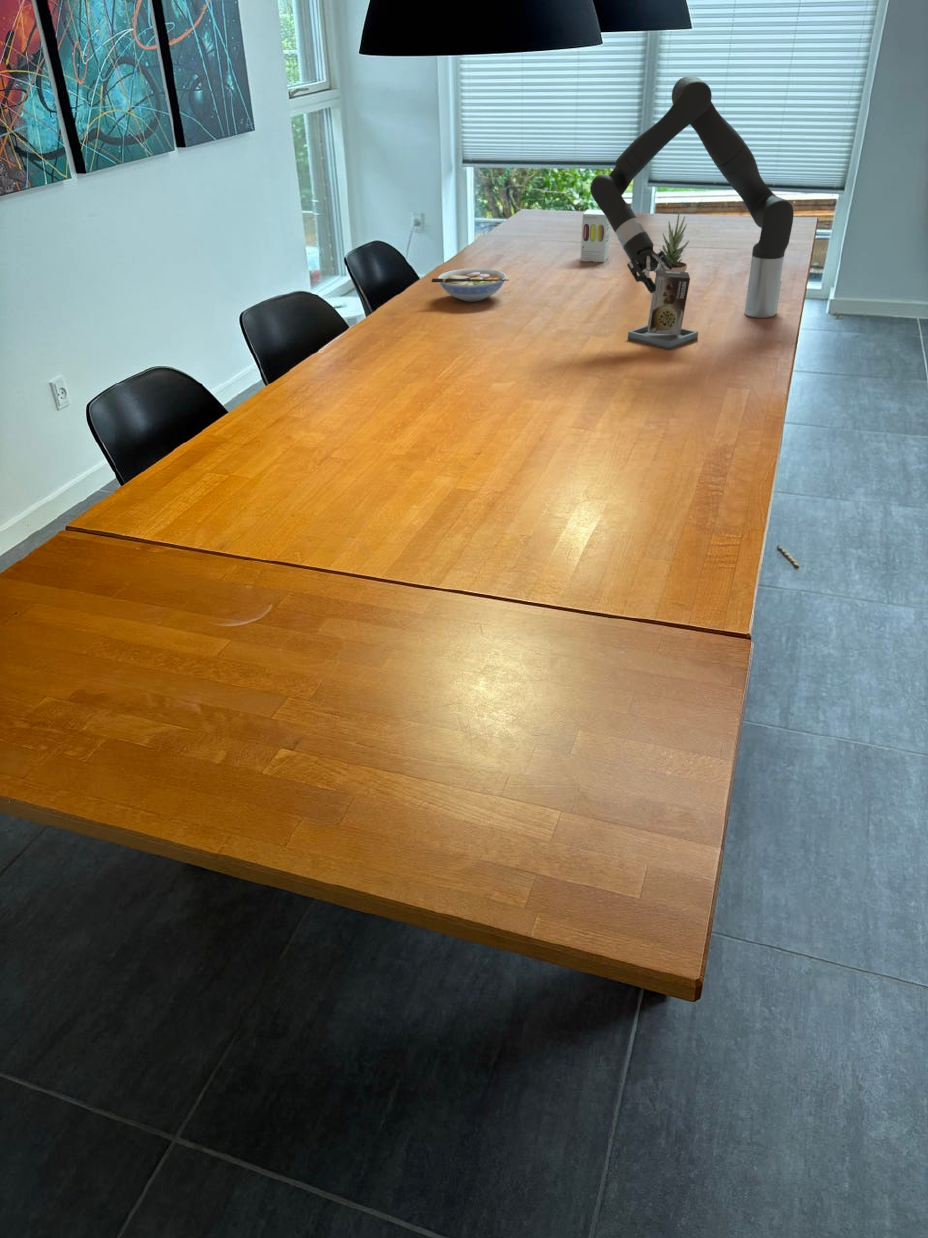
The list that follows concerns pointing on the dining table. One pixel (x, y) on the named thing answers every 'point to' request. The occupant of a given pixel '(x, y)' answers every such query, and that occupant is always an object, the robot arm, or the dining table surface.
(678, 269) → the potted plant
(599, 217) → the supplement box
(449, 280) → the ramen bowl
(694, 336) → the tray
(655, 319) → the coffee box
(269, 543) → the dining table surface
